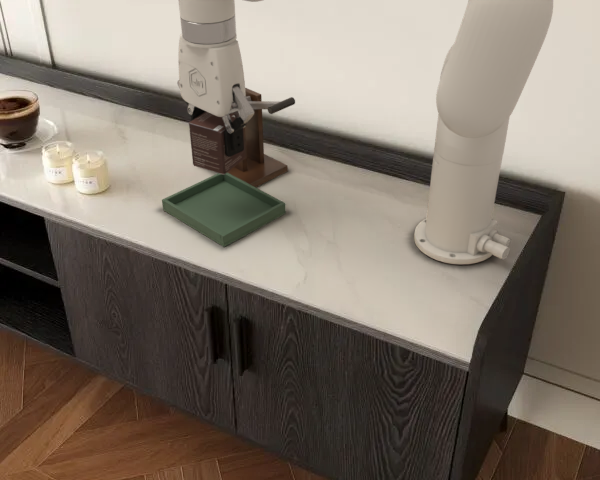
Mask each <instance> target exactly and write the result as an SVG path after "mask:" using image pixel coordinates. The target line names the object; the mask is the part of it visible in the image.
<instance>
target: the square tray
mask: <svg viewBox="0 0 600 480" xmlns="http://www.w3.org/2000/svg"><path fill="white" fill-rule="evenodd" d="M161 203H162V211H164V212H166V213H167V214H169V215H171V216H172V217H174V218H175V219H177V220H178V221H180V222H181V223H183V224H186V225H187V226H189V227H190V228H192V229H194V231H197V232H199V233H200V234H202V235H204V236H205V237H206V238H208V239H210V240H212V241H213V242H215V243H217V244H218V245H219V246H221V247H223V248H225V247H227V246H229V245H231V244H233V243H235V242H236V241H238V240H240V239H242V238H243V237H245V236H247V235H249V234H251V233H253V232H254V231H256V230H258V229H260V228H262V227H264V226H265V225H267V224H269V223H271V222H273V221H274V220H277V219H278V218H280V217H282V216H284V215H286V214H287V211H286V202H285V201H282V200H281V199H279V198H277V197H275V196H274V195H271V194H270V193H268V192H266V191H263V190H261V189H260V188H258V187H254V186H252V185H250V184H248V183H246V182H244V181H242V180H240V179H239V178H237V177H235V176H233V175H231V174H229V173H226V174H224V175H222V174H219V173H216V174H214V175H211V176H209V177H207V178H204V179H203V180H201V181H199V182H196V183H194V184H191V185H189V186H187V187H186V188H184V189H182V190H181V189H180V191H177V192H175V193H173V194H171V195H169V196H167V197H164V198H163V199H161Z"/></svg>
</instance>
